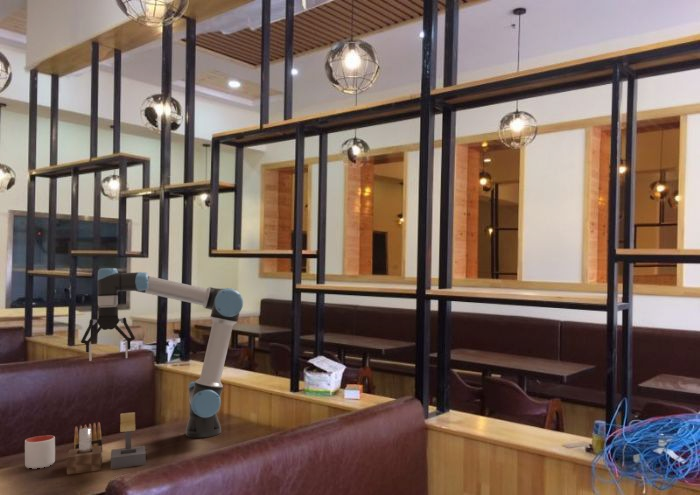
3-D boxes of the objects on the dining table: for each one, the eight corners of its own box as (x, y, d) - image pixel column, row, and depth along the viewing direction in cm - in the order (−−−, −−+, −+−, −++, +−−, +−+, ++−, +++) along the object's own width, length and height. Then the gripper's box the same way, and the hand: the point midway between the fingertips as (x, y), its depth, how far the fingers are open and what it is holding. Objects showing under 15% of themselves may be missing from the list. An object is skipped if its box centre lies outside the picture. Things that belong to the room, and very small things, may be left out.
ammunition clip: (75, 458, 235) (74, 426, 235) (73, 457, 236) (72, 426, 237) (102, 452, 242) (102, 421, 243) (100, 451, 244) (100, 421, 244)
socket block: (144, 456, 234) (144, 418, 235) (145, 464, 223) (145, 425, 224) (111, 460, 230) (111, 422, 231) (110, 469, 219) (110, 429, 220)
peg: (91, 465, 224) (91, 427, 225) (90, 468, 220) (90, 429, 221) (79, 467, 223) (79, 428, 223) (78, 470, 219) (78, 430, 220)
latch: (135, 424, 225) (134, 412, 225) (135, 430, 215) (135, 417, 216) (120, 426, 223) (120, 413, 223) (120, 432, 214) (120, 419, 214)
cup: (34, 471, 219) (34, 443, 220) (19, 467, 225) (19, 440, 225) (60, 463, 228) (60, 437, 228) (45, 460, 233) (45, 434, 234)
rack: (101, 461, 228) (101, 445, 229) (100, 470, 218) (100, 453, 218) (69, 465, 225) (69, 449, 225) (66, 474, 214) (66, 457, 215)
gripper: (140, 304, 253) (141, 355, 252) (75, 307, 244) (75, 360, 243) (140, 305, 246) (141, 357, 245) (73, 308, 237) (73, 362, 236)
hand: (108, 359), depth 244 cm, fingers open, 13 cm apart
